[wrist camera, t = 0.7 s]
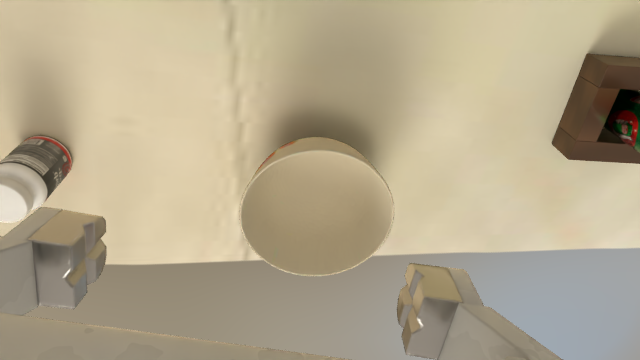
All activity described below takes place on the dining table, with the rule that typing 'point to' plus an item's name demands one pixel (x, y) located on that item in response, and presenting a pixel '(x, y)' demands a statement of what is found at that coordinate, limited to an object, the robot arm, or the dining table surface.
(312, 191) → the bowl
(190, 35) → the dining table surface
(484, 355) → the robot arm
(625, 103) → the soda can
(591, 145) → the can holder
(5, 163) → the pill bottle
